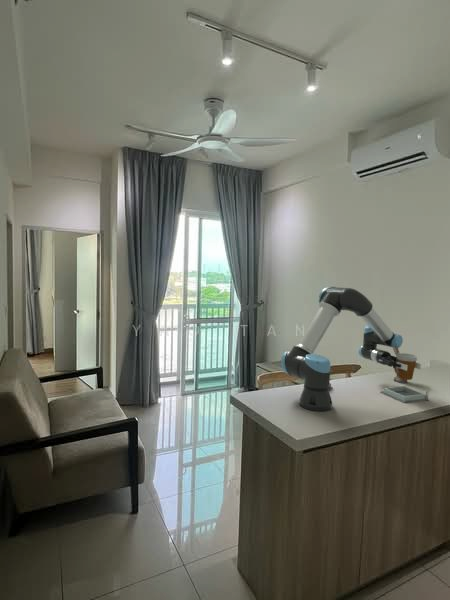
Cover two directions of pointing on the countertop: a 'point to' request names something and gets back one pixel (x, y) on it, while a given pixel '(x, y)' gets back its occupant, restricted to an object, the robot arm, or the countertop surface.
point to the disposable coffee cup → (409, 361)
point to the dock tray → (405, 394)
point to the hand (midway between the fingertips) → (413, 367)
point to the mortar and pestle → (397, 369)
